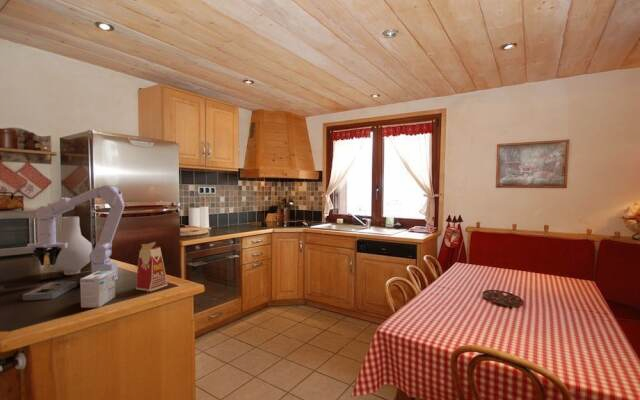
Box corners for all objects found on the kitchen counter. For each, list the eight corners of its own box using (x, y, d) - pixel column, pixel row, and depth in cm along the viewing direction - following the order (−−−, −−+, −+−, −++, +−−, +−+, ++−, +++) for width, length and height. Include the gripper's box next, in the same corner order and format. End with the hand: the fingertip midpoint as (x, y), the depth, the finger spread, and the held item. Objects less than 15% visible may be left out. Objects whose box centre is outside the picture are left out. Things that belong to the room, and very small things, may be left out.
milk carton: (167, 285, 141) (167, 240, 140) (150, 291, 132) (149, 243, 131) (151, 283, 144) (151, 239, 143) (133, 289, 135) (132, 242, 134)
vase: (42, 275, 154) (41, 217, 153) (79, 267, 169) (78, 215, 168) (64, 279, 148) (62, 219, 147) (100, 270, 163) (99, 216, 162)
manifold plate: (76, 286, 138) (76, 281, 138) (52, 299, 122) (52, 293, 122) (50, 287, 137) (50, 282, 136) (22, 300, 121) (22, 294, 121)
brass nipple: (55, 268, 141) (54, 252, 140) (50, 270, 137) (49, 254, 137) (46, 268, 140) (46, 253, 140) (41, 270, 137) (41, 254, 137)
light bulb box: (98, 297, 125) (97, 270, 124) (116, 297, 125) (115, 270, 125) (79, 308, 114) (79, 278, 114) (99, 307, 115) (99, 278, 114)
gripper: (21, 235, 133) (22, 267, 134) (60, 234, 135) (61, 266, 136) (33, 232, 140) (34, 263, 140) (70, 232, 142) (71, 262, 143)
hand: (48, 264), depth 139 cm, fingers closed on brass nipple, 3 cm apart
